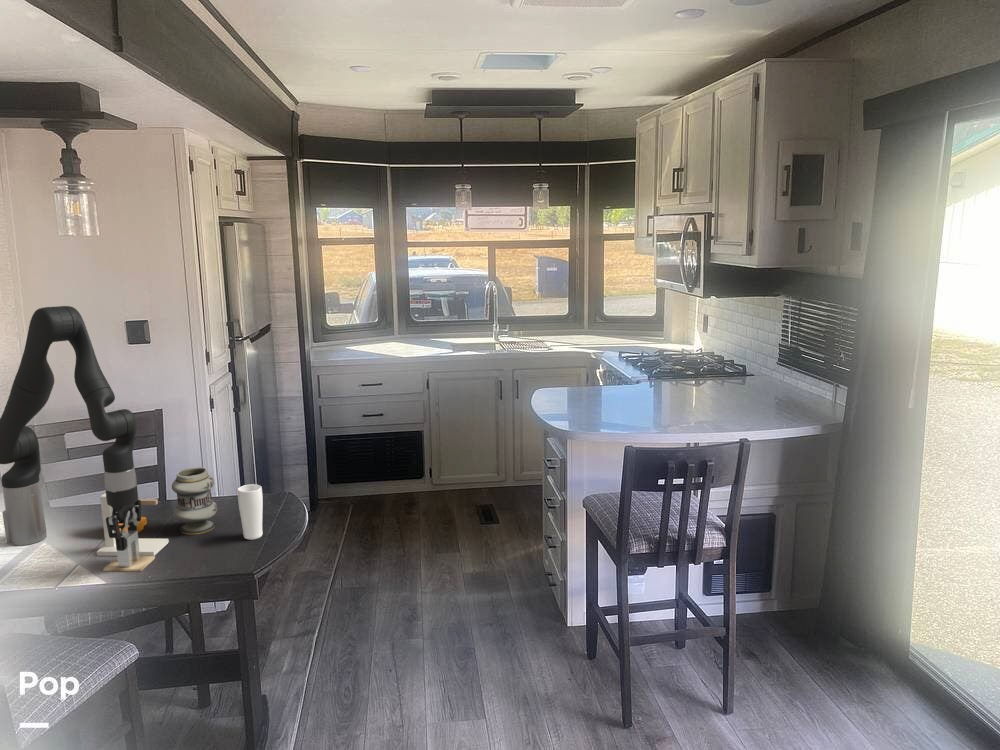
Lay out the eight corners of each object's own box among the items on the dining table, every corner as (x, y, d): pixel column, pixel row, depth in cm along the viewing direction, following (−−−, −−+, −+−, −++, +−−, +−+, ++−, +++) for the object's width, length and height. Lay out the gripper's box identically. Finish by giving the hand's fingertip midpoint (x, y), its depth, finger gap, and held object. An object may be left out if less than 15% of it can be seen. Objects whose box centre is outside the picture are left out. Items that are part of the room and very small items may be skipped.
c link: (118, 566, 205) (115, 538, 203) (129, 558, 210) (126, 530, 209) (129, 567, 205) (127, 538, 203) (139, 558, 210) (137, 530, 209)
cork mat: (103, 571, 204) (103, 569, 204) (119, 558, 212) (118, 556, 212) (140, 571, 204) (140, 569, 204) (155, 558, 212) (154, 556, 211)
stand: (97, 555, 213) (90, 500, 210) (113, 542, 222) (108, 489, 219) (154, 555, 213) (148, 501, 210) (168, 542, 222) (163, 489, 219)
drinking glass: (255, 542, 221) (252, 493, 218) (236, 539, 223) (232, 490, 220) (270, 533, 228) (266, 485, 225) (250, 530, 230) (247, 482, 227)
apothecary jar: (170, 527, 233) (164, 470, 229) (209, 517, 240) (204, 462, 237) (184, 539, 224) (179, 480, 220) (225, 528, 231) (220, 471, 228)
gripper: (121, 476, 210) (127, 534, 214) (92, 494, 196) (99, 556, 200) (148, 476, 210) (154, 534, 214) (121, 494, 196) (127, 556, 199)
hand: (127, 544), depth 207 cm, fingers open, 6 cm apart
